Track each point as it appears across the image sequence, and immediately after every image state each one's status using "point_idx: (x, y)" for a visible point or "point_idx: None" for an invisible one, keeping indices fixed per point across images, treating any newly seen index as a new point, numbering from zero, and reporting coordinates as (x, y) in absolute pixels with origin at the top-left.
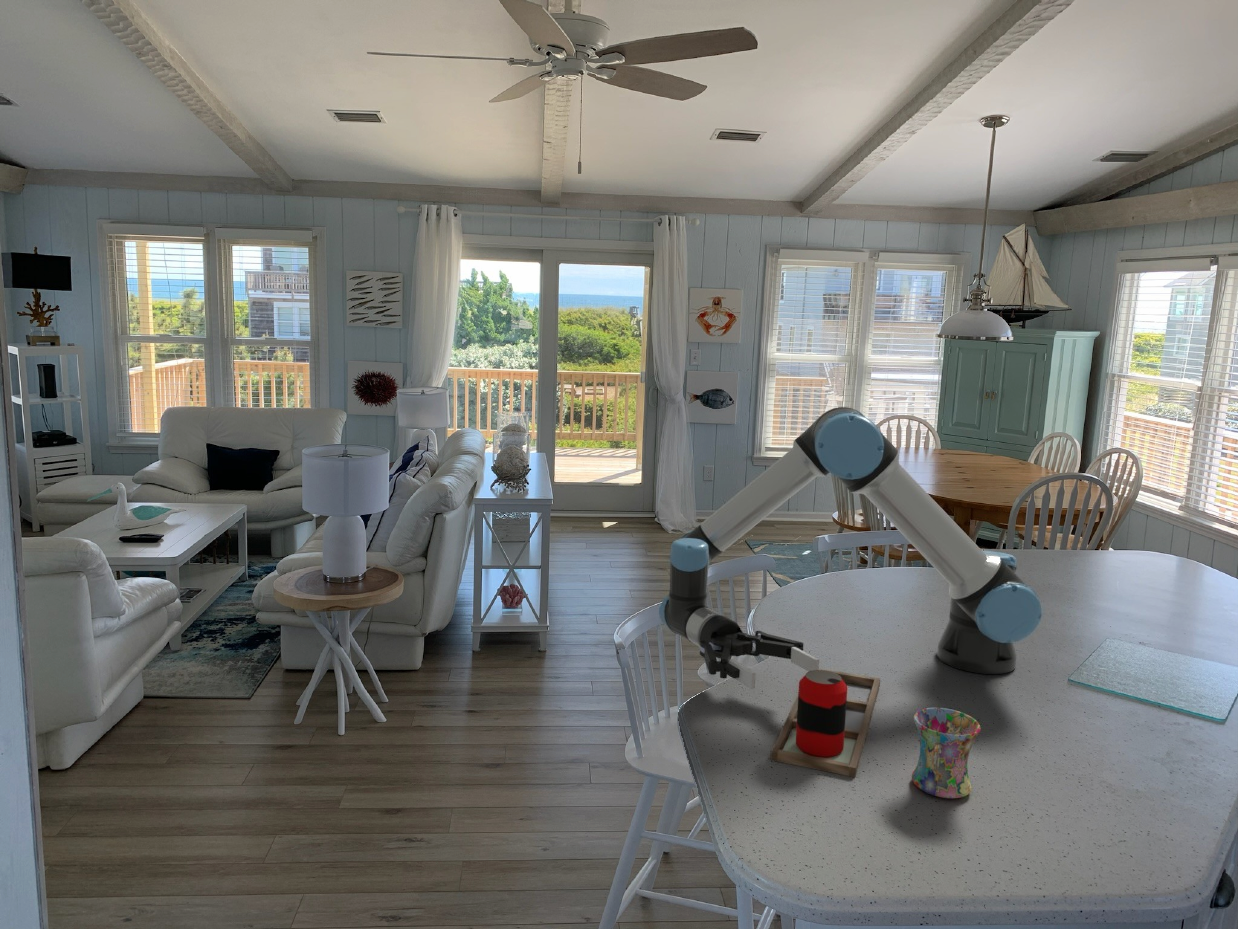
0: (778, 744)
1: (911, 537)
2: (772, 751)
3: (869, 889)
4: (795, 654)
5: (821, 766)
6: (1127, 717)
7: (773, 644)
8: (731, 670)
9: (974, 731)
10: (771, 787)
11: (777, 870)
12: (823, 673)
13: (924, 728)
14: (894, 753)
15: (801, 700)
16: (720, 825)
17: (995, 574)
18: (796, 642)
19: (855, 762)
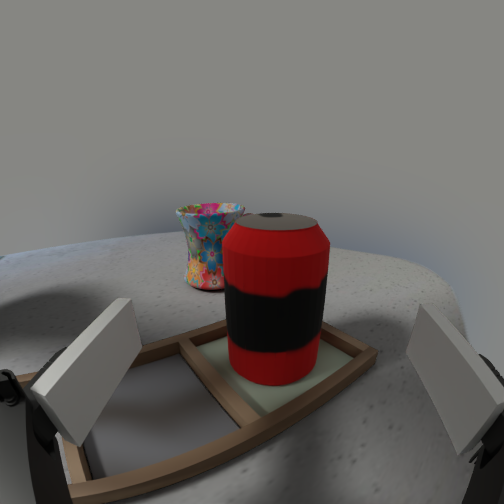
0: (356, 361)
1: None
2: (376, 350)
3: (368, 255)
4: (73, 393)
5: None
6: (3, 270)
7: (38, 502)
8: (489, 367)
9: (197, 211)
10: (398, 323)
11: (420, 270)
12: (262, 223)
13: (244, 208)
14: (181, 319)
15: (327, 272)
16: (456, 299)
17: None
18: (3, 376)
19: None
